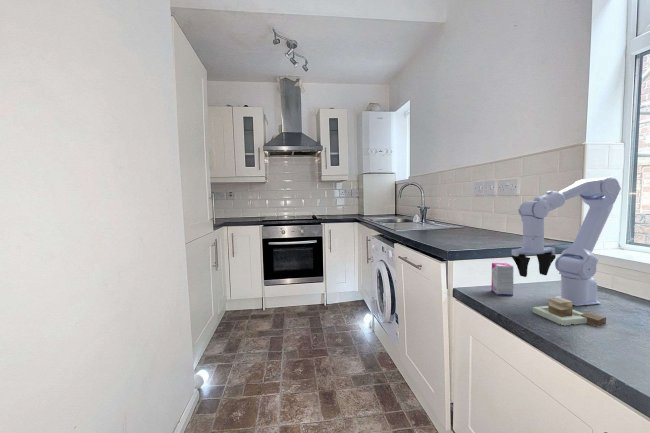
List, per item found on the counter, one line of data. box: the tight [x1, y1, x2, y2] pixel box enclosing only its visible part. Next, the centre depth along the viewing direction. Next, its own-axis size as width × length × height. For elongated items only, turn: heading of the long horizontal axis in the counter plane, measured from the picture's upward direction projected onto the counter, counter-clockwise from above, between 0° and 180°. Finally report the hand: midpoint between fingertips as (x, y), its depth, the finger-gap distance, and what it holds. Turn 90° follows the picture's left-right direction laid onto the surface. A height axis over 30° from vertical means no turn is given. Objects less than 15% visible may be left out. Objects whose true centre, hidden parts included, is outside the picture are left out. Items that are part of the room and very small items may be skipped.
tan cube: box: [547, 296, 573, 317], centre depth 85 cm, size 4×4×4 cm
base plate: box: [532, 305, 588, 326], centre depth 85 cm, size 10×10×2 cm
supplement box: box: [491, 262, 514, 297], centre depth 107 cm, size 6×6×12 cm
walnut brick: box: [581, 311, 607, 327], centre depth 80 cm, size 4×4×2 cm
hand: (533, 275), depth 94 cm, fingers open, 7 cm apart
